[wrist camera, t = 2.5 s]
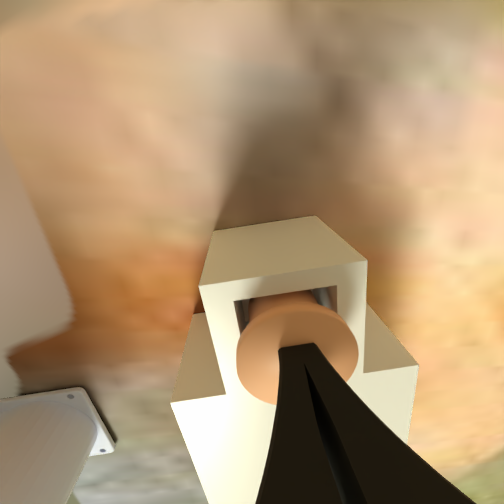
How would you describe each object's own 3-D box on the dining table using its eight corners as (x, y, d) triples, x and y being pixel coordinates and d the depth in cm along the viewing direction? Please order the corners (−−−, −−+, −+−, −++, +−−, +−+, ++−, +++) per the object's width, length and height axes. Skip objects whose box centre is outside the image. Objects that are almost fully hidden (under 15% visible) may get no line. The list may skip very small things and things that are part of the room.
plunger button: (243, 349, 14) (246, 413, 10) (228, 274, 12) (226, 323, 9) (328, 336, 14) (357, 396, 10) (325, 259, 12) (360, 302, 9)
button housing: (228, 442, 24) (226, 548, 18) (171, 237, 16) (129, 296, 10) (352, 423, 24) (395, 523, 18) (357, 208, 16) (436, 249, 10)
